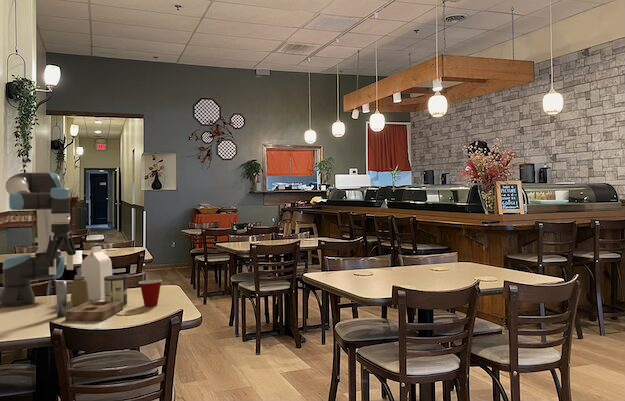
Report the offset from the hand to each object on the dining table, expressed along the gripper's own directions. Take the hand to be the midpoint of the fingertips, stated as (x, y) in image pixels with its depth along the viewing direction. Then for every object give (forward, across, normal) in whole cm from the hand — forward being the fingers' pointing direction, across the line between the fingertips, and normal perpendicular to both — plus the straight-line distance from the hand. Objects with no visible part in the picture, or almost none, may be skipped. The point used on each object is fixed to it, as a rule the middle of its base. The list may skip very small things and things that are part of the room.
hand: (61, 272), depth 221 cm
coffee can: (+20, +20, -15) cm, 32 cm away
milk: (+19, +40, +4) cm, 45 cm away
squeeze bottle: (+19, +21, +3) cm, 29 cm away
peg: (+19, 0, 0) cm, 19 cm away
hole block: (+19, +2, -14) cm, 24 cm away
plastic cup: (+20, +22, -31) cm, 43 cm away
